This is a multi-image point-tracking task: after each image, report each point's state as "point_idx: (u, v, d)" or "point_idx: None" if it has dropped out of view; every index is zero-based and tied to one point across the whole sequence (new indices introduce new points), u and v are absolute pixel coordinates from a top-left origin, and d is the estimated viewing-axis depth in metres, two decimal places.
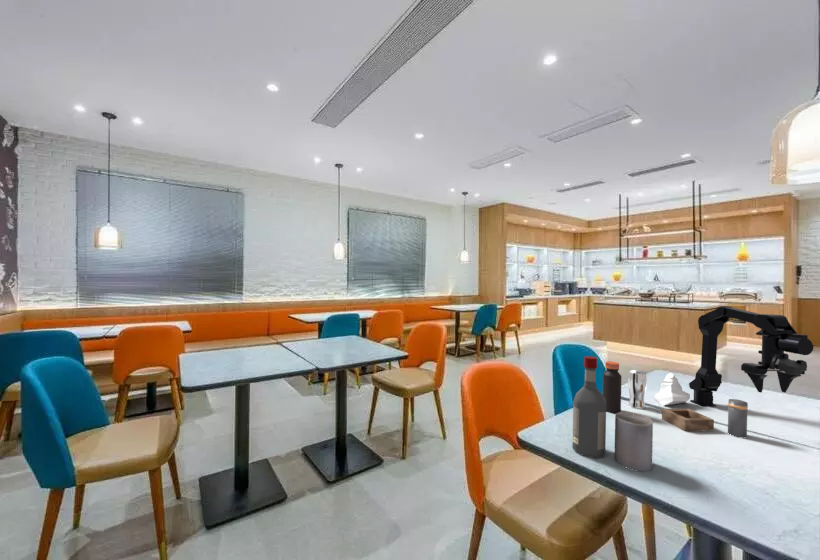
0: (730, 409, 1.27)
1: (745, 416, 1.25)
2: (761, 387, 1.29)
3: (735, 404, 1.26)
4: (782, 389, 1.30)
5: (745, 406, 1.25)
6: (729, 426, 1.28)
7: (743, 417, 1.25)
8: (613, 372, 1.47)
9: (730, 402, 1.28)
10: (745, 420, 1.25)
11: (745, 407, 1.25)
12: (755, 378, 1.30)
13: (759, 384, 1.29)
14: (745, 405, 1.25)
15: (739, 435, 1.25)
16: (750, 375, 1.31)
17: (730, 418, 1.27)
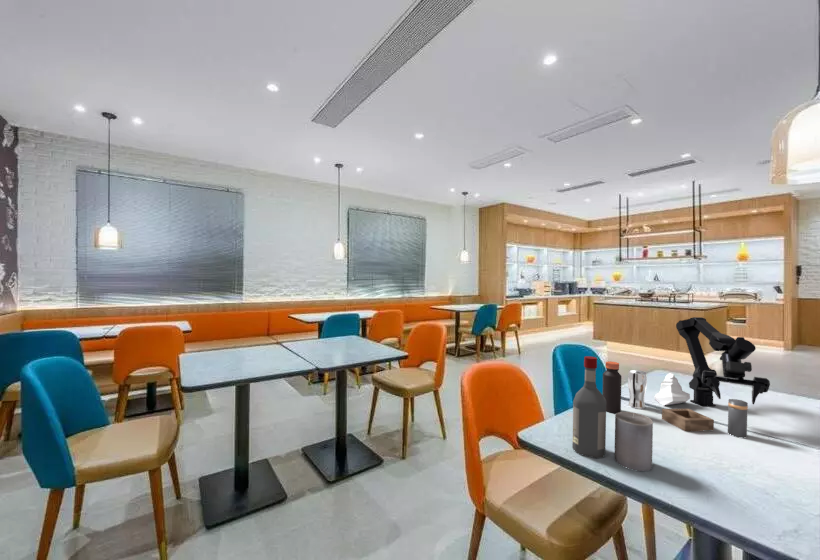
0: (730, 409, 1.27)
1: (745, 416, 1.25)
2: (718, 392, 1.34)
3: (735, 404, 1.26)
4: (752, 401, 1.29)
5: (745, 406, 1.25)
6: (729, 426, 1.28)
7: (743, 417, 1.25)
8: (613, 372, 1.47)
9: (730, 402, 1.28)
10: (745, 420, 1.25)
11: (745, 407, 1.25)
12: (714, 387, 1.37)
13: (715, 389, 1.35)
14: (745, 405, 1.25)
15: (739, 435, 1.25)
16: (711, 387, 1.39)
17: (730, 418, 1.27)
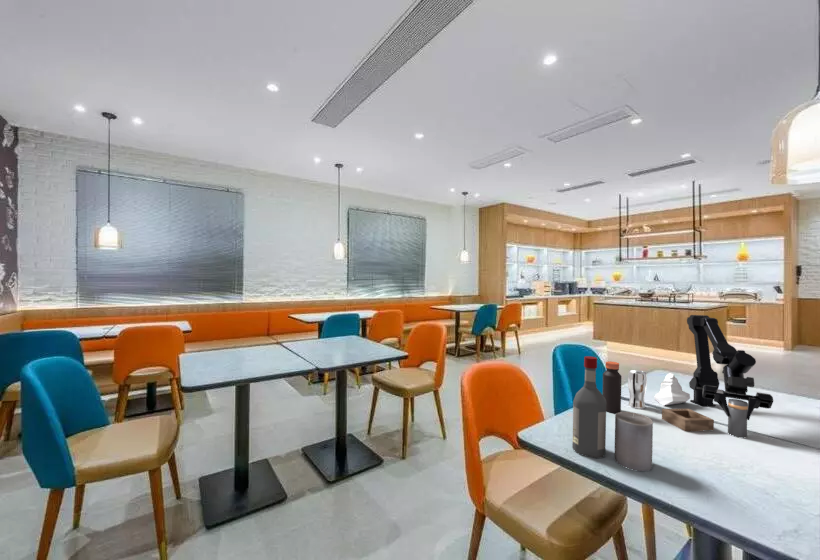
0: (730, 409, 1.27)
1: (745, 416, 1.25)
2: (726, 409, 1.29)
3: (735, 404, 1.26)
4: (747, 417, 1.25)
5: (745, 406, 1.25)
6: (729, 426, 1.28)
7: (743, 417, 1.25)
8: (613, 372, 1.47)
9: (730, 402, 1.28)
10: (745, 420, 1.25)
11: (745, 407, 1.25)
12: (722, 403, 1.32)
13: (723, 406, 1.30)
14: (745, 405, 1.25)
15: (739, 435, 1.25)
16: (719, 403, 1.33)
17: (730, 418, 1.27)
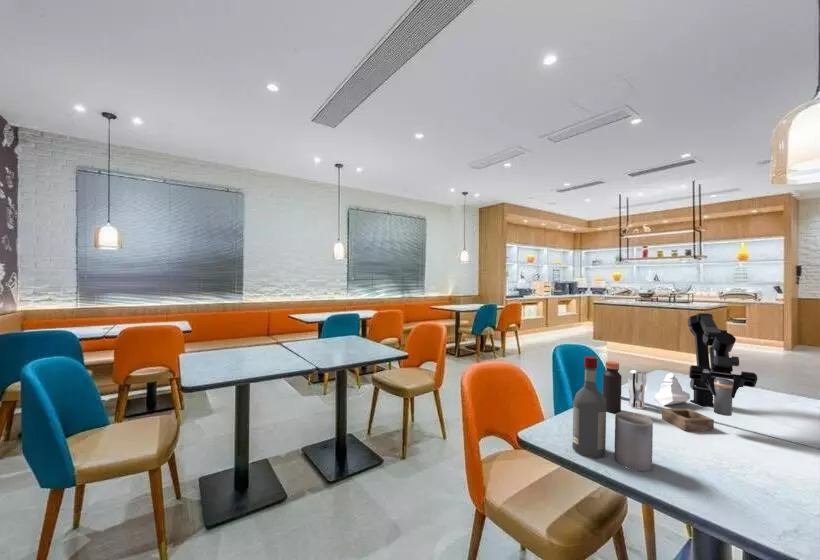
0: (716, 388, 1.30)
1: (730, 394, 1.27)
2: (712, 388, 1.31)
3: (721, 383, 1.28)
4: (732, 395, 1.28)
5: (730, 384, 1.27)
6: (715, 405, 1.30)
7: (728, 395, 1.27)
8: (613, 372, 1.47)
9: (716, 381, 1.30)
10: (730, 398, 1.27)
11: (731, 385, 1.27)
12: (708, 383, 1.34)
13: (709, 385, 1.32)
14: (730, 383, 1.27)
15: (724, 413, 1.28)
16: (705, 382, 1.35)
17: (716, 396, 1.30)
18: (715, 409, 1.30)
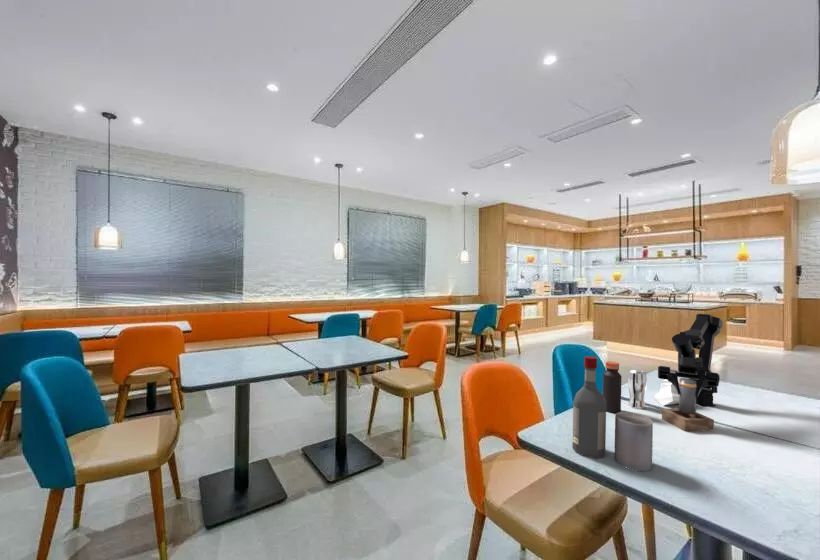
0: (680, 387, 1.36)
1: (694, 393, 1.33)
2: (677, 387, 1.37)
3: (685, 382, 1.34)
4: (696, 394, 1.34)
5: (693, 384, 1.33)
6: (680, 403, 1.36)
7: (692, 394, 1.33)
8: (613, 372, 1.47)
9: (680, 381, 1.36)
10: (694, 397, 1.33)
11: (694, 385, 1.33)
12: (674, 383, 1.40)
13: (675, 385, 1.38)
14: (693, 383, 1.33)
15: (688, 411, 1.34)
16: (672, 382, 1.41)
17: (680, 395, 1.36)
18: (680, 408, 1.36)
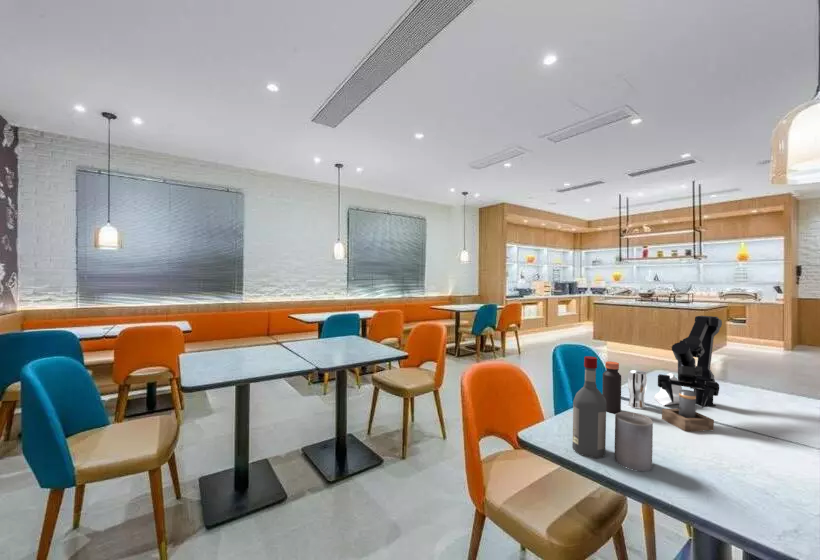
0: (680, 399, 1.36)
1: (693, 405, 1.33)
2: (671, 395, 1.38)
3: (684, 394, 1.34)
4: (701, 405, 1.33)
5: (693, 396, 1.33)
6: None
7: (691, 406, 1.33)
8: (613, 372, 1.47)
9: (680, 392, 1.36)
10: (693, 409, 1.33)
11: (693, 396, 1.33)
12: (668, 390, 1.41)
13: (669, 393, 1.39)
14: (693, 395, 1.33)
15: None
16: (666, 390, 1.42)
17: (680, 407, 1.36)
18: None
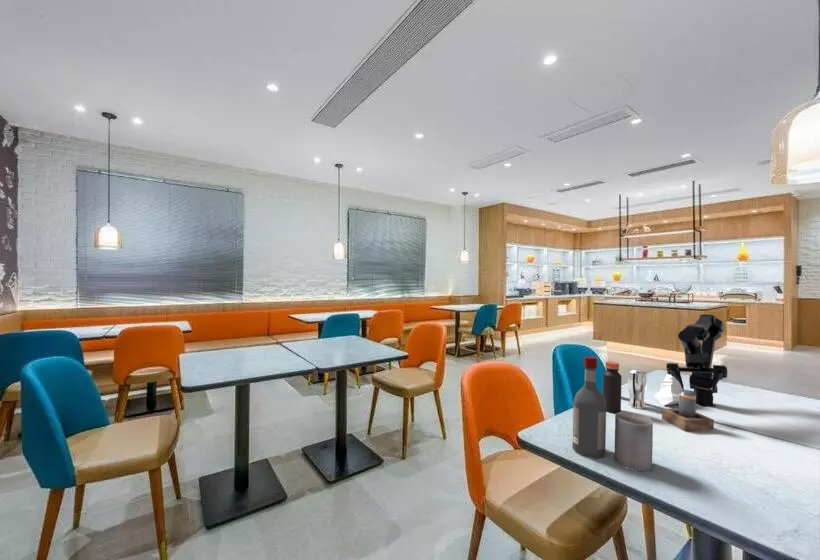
0: (680, 399, 1.36)
1: (693, 405, 1.33)
2: (681, 383, 1.41)
3: (684, 394, 1.34)
4: (712, 390, 1.36)
5: (693, 396, 1.33)
6: None
7: (691, 406, 1.33)
8: (613, 372, 1.47)
9: (680, 392, 1.36)
10: (693, 409, 1.33)
11: (693, 396, 1.33)
12: (678, 378, 1.44)
13: (679, 381, 1.42)
14: (693, 395, 1.33)
15: None
16: (676, 377, 1.45)
17: (680, 407, 1.36)
18: None
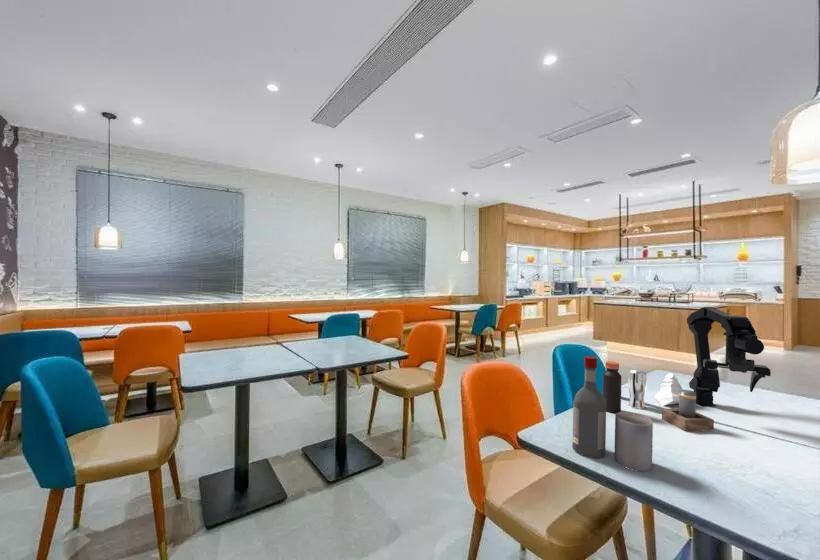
0: (680, 399, 1.36)
1: (693, 405, 1.33)
2: (718, 382, 1.40)
3: (684, 394, 1.34)
4: (750, 389, 1.35)
5: (693, 396, 1.33)
6: None
7: (691, 406, 1.33)
8: (613, 372, 1.47)
9: (680, 392, 1.36)
10: (693, 409, 1.33)
11: (693, 396, 1.33)
12: None
13: (715, 379, 1.40)
14: (693, 395, 1.33)
15: None
16: None
17: (680, 407, 1.36)
18: None
